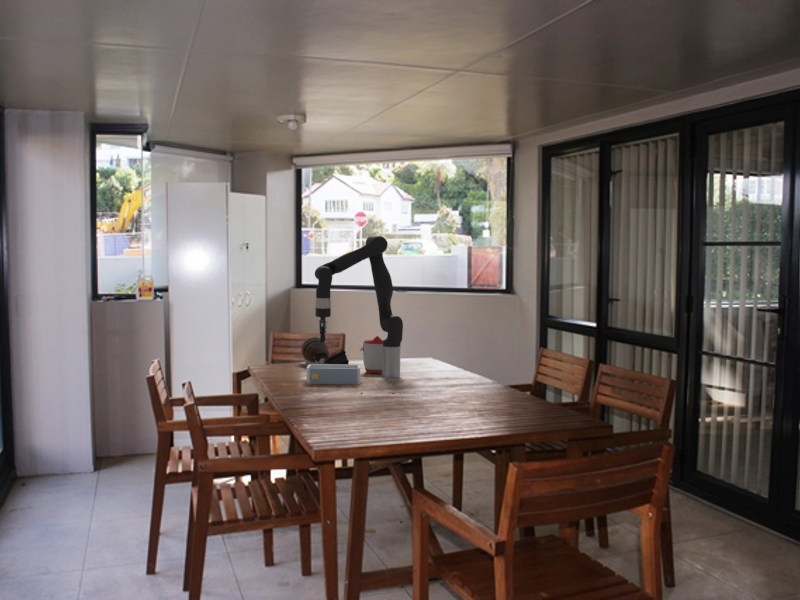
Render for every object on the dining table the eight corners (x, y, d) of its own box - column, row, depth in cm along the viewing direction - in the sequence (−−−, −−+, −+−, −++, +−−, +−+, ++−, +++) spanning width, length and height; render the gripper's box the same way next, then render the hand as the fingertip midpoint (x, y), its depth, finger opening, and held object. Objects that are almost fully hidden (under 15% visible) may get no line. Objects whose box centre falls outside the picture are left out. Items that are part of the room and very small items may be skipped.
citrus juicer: (360, 369, 410) (361, 333, 408) (391, 370, 409) (392, 334, 408) (357, 374, 394) (358, 337, 393) (390, 375, 393) (390, 338, 392)
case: (308, 381, 370) (308, 364, 369) (360, 382, 371) (360, 364, 371) (306, 386, 358) (306, 368, 357) (359, 386, 359) (360, 368, 359)
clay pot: (311, 349, 403) (303, 335, 426) (306, 375, 406) (298, 360, 429) (337, 351, 408) (327, 337, 431) (332, 377, 411) (323, 362, 434)
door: (309, 383, 359) (309, 367, 358) (356, 383, 360) (356, 368, 359) (309, 384, 357) (309, 368, 356) (356, 384, 358) (356, 369, 357)
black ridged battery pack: (356, 374, 383) (344, 349, 380) (334, 386, 379) (322, 361, 376) (353, 373, 387) (342, 348, 383) (331, 385, 383) (320, 360, 379)
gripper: (316, 305, 369) (316, 339, 370) (314, 308, 355) (314, 343, 356) (331, 306, 369) (331, 339, 371) (330, 308, 355) (329, 343, 356)
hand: (322, 341), depth 363 cm, fingers open, 4 cm apart
